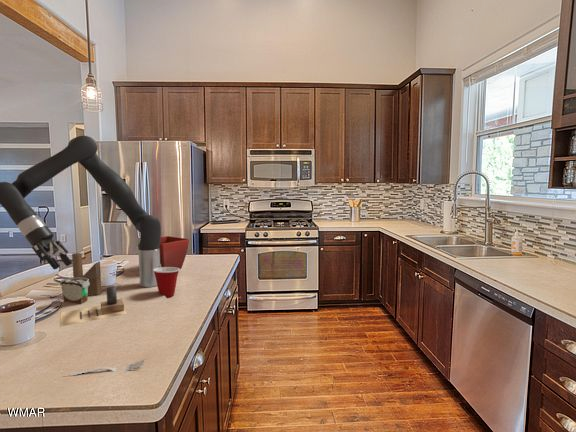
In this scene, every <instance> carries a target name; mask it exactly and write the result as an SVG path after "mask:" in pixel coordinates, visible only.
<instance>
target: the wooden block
mask: <svg viewBox="0 0 576 432" xmlns="http://www.w3.org/2000/svg"><path fill="white" fill-rule="evenodd" d="M71 261H72V275H73V277H72V278H78V277H81V278H87V279H88V280H89V283H90V285H89V286H88V295H87V296H98V295H100V294H102V280H101V279H102V278H101V276H102V275H101V261H97V262H95V263H94V264H93V265H92V266H91V267H90V268H89V269H88V270H87V271H86V272H85V273H83V272H84V268H83V254H82V252H74V253H72V254H71Z"/></svg>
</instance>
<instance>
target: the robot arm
mask: <svg viewBox="0 0 576 432" xmlns="http://www.w3.org/2000/svg"><path fill="white" fill-rule="evenodd" d="M97 152H98V144H97V142H96V141H95V139H94V138H92V137H91V136H88V135H78V136H76V137H73V138H71V139H70V141H69V142H68V144H67V146H65V148H63V149H61V150H60V151H59V152H57V153H55V154H54V155H52V156H50V157H48V158H46V159H44V160H42V161H39V162H38V163H35V164H34V165H33V166H30V167H29V168H27V169H25V170H23V171H22V172H20V173H19V174H18V175H17V177H16V180H14V181H13V182H6V181H0V205H1V206H2V207H3V209H4V210H5V211H6V212H7V214H8V216H9V217H10V219H11V221H13V223H14V224H15V225H16V226H17V227H18V229H19V231H20V233H21V234H22V235H23V236H24V237H25V239H26V240H27V241H28V243H29V244H30V245H31V248H32V250H33V252H35V254H36V255H37V257H38V258H39V260H40V261H41V262H44V261H45V262H47V263H48V264H49V265H50V266H51V268H52V269H53V270H54V271H55V270H57V269H59V268H60V267H61V265H60V263H59V262H58V261H57V259H56V258H55V257H58V258H60V260H61V261H62V262H63V265H65V266H66V267H70V266H71V265H73V263H72V259H70V258H69V256H68V254H69V250H68V249H67V248H66V247H65V246H64V245H63V243H62V242H61V241H60V240H56V241H54V240H53V238H54V233H53V231H52V230H51V229H50V228H49V227H48V226H47V224H46V223H45V222H44V220H43V219H42V218H41V217H40V216H39V215H38V214H37V213H36V212H35V210H34V209H33V208H32V206H30V205H29V204H28V202H27V201H26V200H25V198H26V197H28V195H29V194H31V193H32V191H34V190H36V189H37V188H39V187H41V186H42V185H45V184H46V183H47V182H48V181H50V180H52V179H53V178H54V177H56V176H57V175H58V174H59V175H60V173H62V172H63V171H65V170H66V169H68V168H69V167H71V166H73V165H74V164H75V165H76V164H77V163H78V164H80V165H81V166H82V167H83V168H84V169H85V170H86V171H87V172H88V173H89V174H90V175H91V177H92V178H93V179H94V181H95V182H96V183H97V184H98V185H99V187H100V188H101V189H102V190H103V191H104V193H105V194H106V195H107V196H108V197H109V199H110V200H111V201H112V202H113V203H114V204H115V205H116V206H117V207H118V208H119V209H120V210H121V211H122V212H123V213H124V214H125V215H126V216H127V218H128V219H129V220H130V222H131V224H132V225H133V227H135V229H136V231H138V232H139V234H140V237H139V238H140V240H139V243H138V244H137V246H138V247H137V248H138V249H137V250H138V269H139V286H140V287H142V288H152V287H158V286H157V282H156V277H155V273H154V271H153V269H155V268H161V264H160V250H159V245H160V242H161V237H162V231H161V230H162V229H161V227H162V225H161V221H160V219H159V218H158V217H157V216H155V215H152V214H151V215H150V214H149V213H148V212H147V211H146V210H145V209H144V208H143V207H142V206H141V205H140V204H139V202H138V201H137V198H136V196H135V194H134V192H133V190H132V188H131V187H130V186H129V185H128V183H127V182H126V181H125V180H124V179H123V178H122V177H121V175H120V174H118V173H117V172H116V171H114V170H113V169H112V168H111V167H109V166H108V165H107V164H106V163H105V162H104V161H103V160H102V159H101V158H100V156H99V155H98V154H97Z"/></svg>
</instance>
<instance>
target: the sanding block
mask: <svg viewBox="0 0 576 432" xmlns="http://www.w3.org/2000/svg"><path fill="white" fill-rule="evenodd" d="M100 306H101V311H102V315H105V314H110V313H116V312H121V311H124V308H125V303H124V302H123V299H122V298H119V299H118V295H117V286H115V285H110V286H107V287H106V300H105V301H100Z"/></svg>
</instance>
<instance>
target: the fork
mask: <svg viewBox="0 0 576 432" xmlns="http://www.w3.org/2000/svg"><path fill="white" fill-rule="evenodd" d="M146 360H147V359H142V360H140V361H139V360H138V361H136V362H134V363H130V364H126V365H125V366H124V369H123V372H128V371H131V370H133V369H136V368H138V367H141V366H142V365H144V363H145V362H146ZM101 370H108V371H111V372H113V373H115V372H116V370H117V367H109V366H108V367H107V366H105V367H104V366H103V367H97V368H93V369H87V370H81V371H75V372H71V373H72V375H75V376H78V374H79V375H83V374H82V373H84V374H87V373H91V372H96V371H101Z"/></svg>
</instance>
